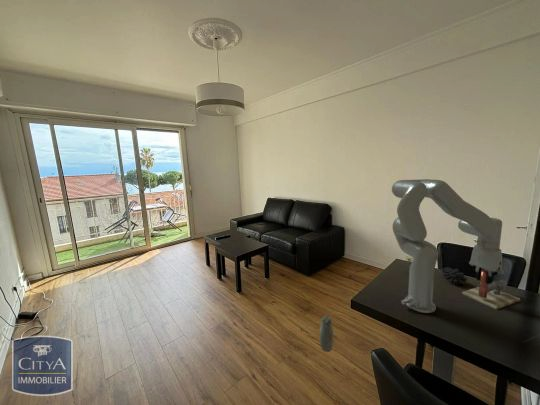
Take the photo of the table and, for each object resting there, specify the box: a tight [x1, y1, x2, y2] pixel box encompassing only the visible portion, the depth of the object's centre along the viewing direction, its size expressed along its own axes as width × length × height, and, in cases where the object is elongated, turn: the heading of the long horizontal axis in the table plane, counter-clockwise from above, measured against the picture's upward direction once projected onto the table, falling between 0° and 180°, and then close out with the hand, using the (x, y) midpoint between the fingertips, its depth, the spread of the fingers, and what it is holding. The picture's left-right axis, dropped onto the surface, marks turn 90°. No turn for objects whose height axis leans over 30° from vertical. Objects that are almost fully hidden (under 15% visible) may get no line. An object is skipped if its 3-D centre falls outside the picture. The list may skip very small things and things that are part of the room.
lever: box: [478, 268, 508, 298], centre depth 111 cm, size 19×4×14 cm, turn 111°
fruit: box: [441, 267, 468, 286], centre depth 129 cm, size 9×8×15 cm
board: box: [461, 286, 521, 310], centre depth 113 cm, size 18×14×5 cm
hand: (484, 281), depth 108 cm, fingers closed on lever, 3 cm apart
